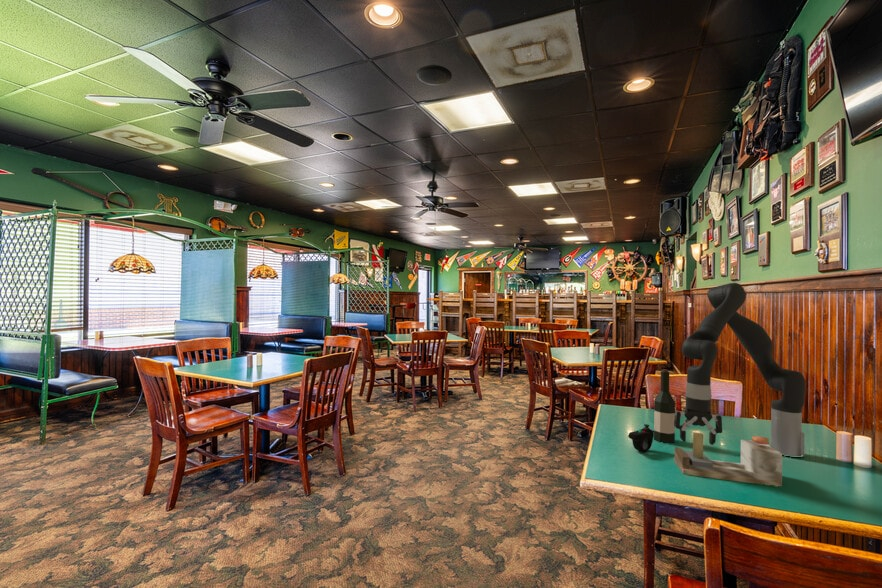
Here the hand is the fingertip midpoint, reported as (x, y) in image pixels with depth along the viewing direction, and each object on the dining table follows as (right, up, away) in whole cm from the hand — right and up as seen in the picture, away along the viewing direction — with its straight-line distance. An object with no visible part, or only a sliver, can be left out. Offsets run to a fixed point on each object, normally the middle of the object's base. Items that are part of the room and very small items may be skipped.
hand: (697, 442), depth 141 cm
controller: (-12, -10, +16) cm, 22 cm away
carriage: (0, -7, 0) cm, 7 cm away
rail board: (+8, -10, -3) cm, 13 cm away
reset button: (+18, +2, -5) cm, 19 cm away
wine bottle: (+5, -10, +30) cm, 32 cm away
